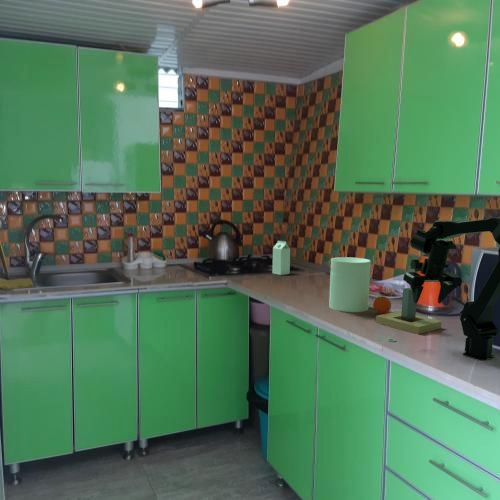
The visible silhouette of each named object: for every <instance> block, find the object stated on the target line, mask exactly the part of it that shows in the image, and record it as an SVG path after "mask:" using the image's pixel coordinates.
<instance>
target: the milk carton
mask: <svg viewBox="0 0 500 500" xmlns="http://www.w3.org/2000/svg"><path fill="white" fill-rule="evenodd" d="M271 269H272V270H271V271H272V272H271V273H272V274H274V275H278V276H282V275H283V276H284V275H290V274H291V273H290V272H291V271H290V269H291V247H289V245H288V244H287V241H283V240H277V242H276V243H275V245H273V247H272V268H271Z"/></svg>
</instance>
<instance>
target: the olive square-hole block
mask: <svg viewBox="0 0 500 500" xmlns="http://www.w3.org/2000/svg"><path fill="white" fill-rule="evenodd" d="M401 315H402V310H398V311H394V312H387V313H385V314H378V315H375V323H376V324H380V325H382V326H387V327H391V328H394V329H399V330H401V331H405V332H408V333H413V334H416V335H420V333H421V334H424V333H428V332H431V331H435V330H439V329H442V325H443V324H442V323H443V321H442V320H439V319H434V318H431V317H425V316H423V315H422V316H421V315H418V314H416V317H415V322H407V321H403V320H401Z"/></svg>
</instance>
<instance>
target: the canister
mask: <svg viewBox="0 0 500 500" xmlns="http://www.w3.org/2000/svg"><path fill="white" fill-rule="evenodd" d="M371 265H372V264H371V259H367V258H361V257H351V256H350V257H347V256H340V257H339V256H338V257H332V258H330V273H329V274H330V277H329V278H330V279H329V302H328V303H329V304H328V306H329V308H330V309H331V310H334V311H339V312H343V313H344V312H347V313H362V312H366V311H368V310H369V305H370V304H369V302H370V285H371V282H370V281H371V280H370V279H371Z"/></svg>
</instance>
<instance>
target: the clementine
mask: <svg viewBox="0 0 500 500" xmlns="http://www.w3.org/2000/svg"><path fill="white" fill-rule="evenodd" d="M373 300H374V301H373ZM372 301H373V303H372V305H373V306H372V307H373V310H374V311H375V312H376V313H377V314H379V315H383V314H387V313H390V311H391V309H392V302H391V301H390V299H389V298H388V297H386V296H383V295H379V296H378V295H377V296H375V297H373V298H372Z"/></svg>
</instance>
